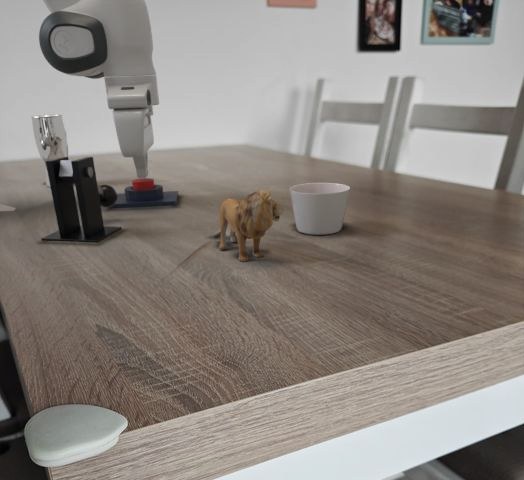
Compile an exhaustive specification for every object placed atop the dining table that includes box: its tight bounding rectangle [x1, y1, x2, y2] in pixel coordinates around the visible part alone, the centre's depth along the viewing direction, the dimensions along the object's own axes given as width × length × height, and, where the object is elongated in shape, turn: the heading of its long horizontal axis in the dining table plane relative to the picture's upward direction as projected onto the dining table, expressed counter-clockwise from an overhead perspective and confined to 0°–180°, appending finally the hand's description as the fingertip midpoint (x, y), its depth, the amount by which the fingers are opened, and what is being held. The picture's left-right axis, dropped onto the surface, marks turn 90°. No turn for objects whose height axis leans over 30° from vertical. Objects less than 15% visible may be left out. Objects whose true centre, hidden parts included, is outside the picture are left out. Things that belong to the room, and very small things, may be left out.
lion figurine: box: [213, 189, 285, 262], centre depth 74 cm, size 15×5×9 cm, turn 35°
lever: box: [59, 159, 118, 209], centre depth 85 cm, size 13×4×4 cm, turn 167°
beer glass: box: [31, 114, 69, 188], centre depth 126 cm, size 7×7×15 cm
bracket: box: [41, 156, 123, 244], centre depth 81 cm, size 8×9×12 cm
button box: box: [108, 183, 180, 210], centre depth 104 cm, size 12×10×4 cm
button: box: [131, 177, 155, 190], centre depth 103 cm, size 4×4×2 cm
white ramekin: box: [289, 182, 351, 236], centre depth 84 cm, size 9×9×6 cm
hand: (143, 176), depth 103 cm, fingers closed
